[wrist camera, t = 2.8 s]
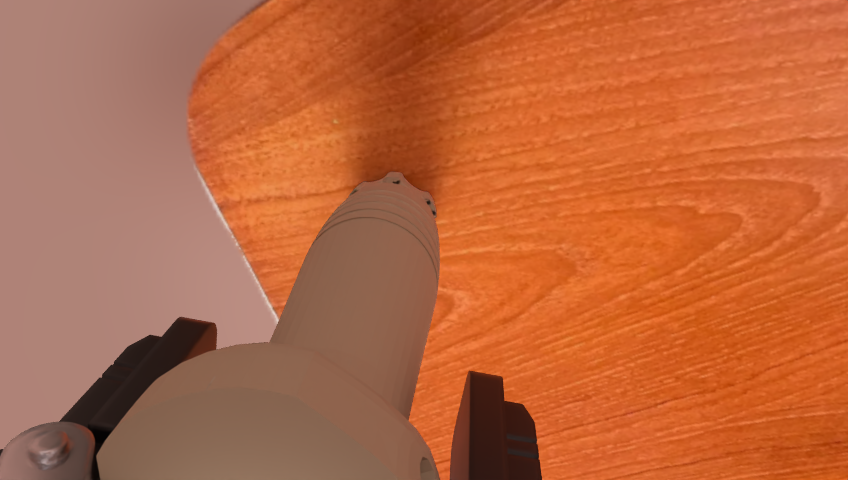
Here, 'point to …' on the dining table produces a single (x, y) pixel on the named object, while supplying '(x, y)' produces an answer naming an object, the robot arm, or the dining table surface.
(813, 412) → the dining table surface
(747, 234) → the dining table surface
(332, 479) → the handle
